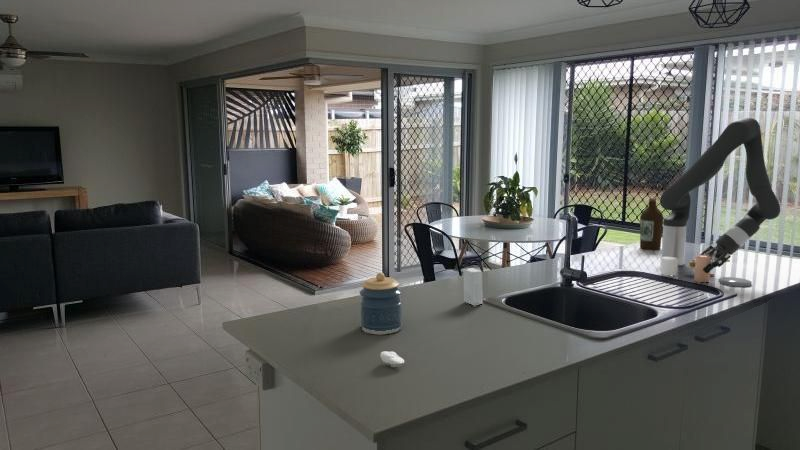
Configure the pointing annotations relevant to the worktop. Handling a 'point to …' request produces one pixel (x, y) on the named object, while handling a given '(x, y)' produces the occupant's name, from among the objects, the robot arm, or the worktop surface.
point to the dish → (735, 281)
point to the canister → (381, 304)
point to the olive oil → (651, 227)
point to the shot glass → (669, 265)
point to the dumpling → (391, 358)
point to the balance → (694, 266)
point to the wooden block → (701, 268)
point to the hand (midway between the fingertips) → (699, 269)
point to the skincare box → (473, 286)
